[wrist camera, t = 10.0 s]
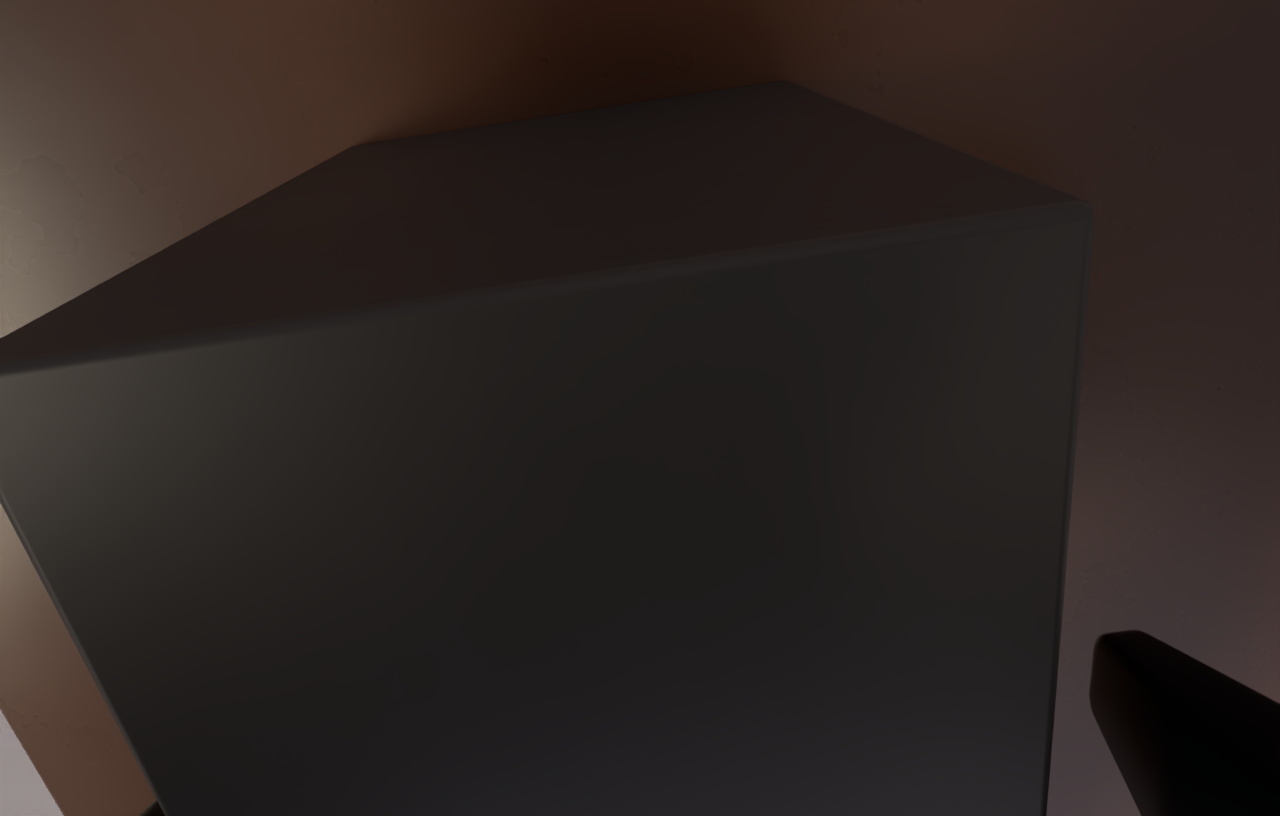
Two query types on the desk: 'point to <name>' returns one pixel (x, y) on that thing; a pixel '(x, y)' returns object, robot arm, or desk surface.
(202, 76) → the walnut board
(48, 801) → the desk surface
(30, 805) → the desk surface
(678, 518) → the clock
